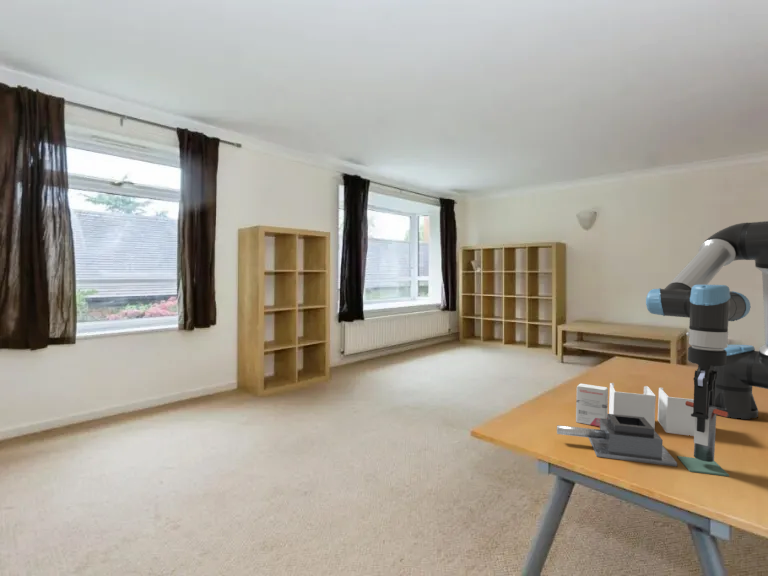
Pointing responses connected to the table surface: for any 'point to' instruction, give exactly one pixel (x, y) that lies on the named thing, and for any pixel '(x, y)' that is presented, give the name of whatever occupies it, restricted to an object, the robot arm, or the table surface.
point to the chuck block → (624, 440)
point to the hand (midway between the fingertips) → (702, 441)
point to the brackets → (670, 409)
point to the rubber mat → (702, 466)
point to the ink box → (591, 404)
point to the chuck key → (708, 451)
